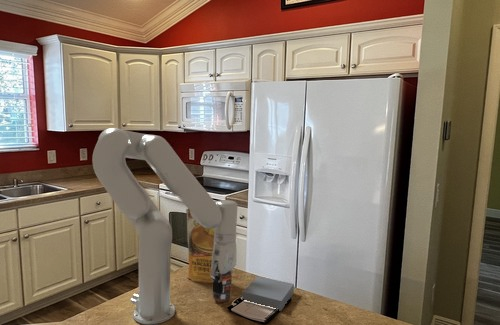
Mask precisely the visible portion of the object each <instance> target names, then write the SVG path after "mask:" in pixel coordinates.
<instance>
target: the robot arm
mask: <svg viewBox="0 0 500 325" xmlns="http://www.w3.org/2000/svg"><path fill="white" fill-rule="evenodd" d="M97 139H98V140H97V142H96V144H95V147H94V149H93V153H92V160H91V161H92V168H93V170H94V171H93V172H94V175H96V177H97V179H98V181H99V182H100V183H101V185H102V186H103V187H104V189H105V191H106V192H107V194H108V196H109V197H110V198H111V200H113V202H114V203H115V204H116V206H117V209H118V210H119V211H120V213H121V214H123V216H125V217H126V218H127V219H128V221H129V222H130V224H131V225H132V227H133V228H134V229H135V230H136V232H137V234H138V240H139V241H138V242H139V245H138V246H139V247H138V293H134V294H133V295H132V298H131V299H130V304H133V305H135V308H134V311H133V313H132V314H133V319H134V320H135V321H136V322H138V323H139V324H142V325H156V324H157V325H158V324H162V323H164V322H166V321H168V320H170V319H172V317H173V316H174V315H175V314H176V307H175V305H174V304H173V303H171V252H172V242H173V227H172V226H171V223H170V221H169V220H168V219H167V217H166V216H165V215H164V214H163V213H162V212H161V211H160V210H159V208H158V206H157V205H156V204H155V202H154V201H153V200H152V198H151V197H150V195H149V193H148V192H147V190H146V189H145V188H144V187H143V186H142V185H141V184H140V183H139V182H138V180H137V179H136V177H135V176H134V174H133V172H132V171H131V169H130V168H129V166H128V165H127V162H126V158H127V159H134V160H141V161H145V162H146V163H147V164H148V165H149V167H150V168H151V169H152V170H153V172H154V173H155V174H156V176H158V178H159V179H160V180H161V182H162V183H163V184H164V185H165V187H166V188H167V189H168V190H169V191H170V192H171V193H172V194H173V195H174V196H175V197H177V198H178V199H179V200H180V202H182V203H183V205H185V206H186V208H187V209H189V210H190V213H191V216H192V217H193V219H194V220H196V221H197V222H198V223H199V224H200V225H202V226H203V227H204V228H207V229H212V228H214V240H213V241H214V246H213V252H212V262H211V270H212V271H211V273H210V276H211V277H212V280H213V284H212V293H213V292H215V293H219V294H221V293H222V282H221V280H222V275H223V274H226V273H227V272H231V280H232V278H233V277H232V276H233V269H234V268H235V267H236V266H237V243H236V242H237V222H238V203H237V202H235V201H234V200H229V199H222V200H214V199H213V198H212V196H211V195H210V194H209V192H208V191H207V189H205V188H204V186H202V185H201V183H200V182H199V181H198V179H197V178H196V177H195V175H194V174H193V173H192V172H191V171H190V170H189V168H188V167H187V166H186V164H185V163H184V162H183V161H182V160H181V158H180V157H179V156H178V154H177V153H176V151H175V150H174V149H173V147H172V146H171V144H170V143H169V142H168V141H167V140H166V138H164V137H162V136H160V135H155V134H146V133H141V132H140V133H139V132H134V131H130V130H126V129H121V128H118V127H111V128H110V127H109V128H107V129H105V130H103V131H102V132H101V133H100V134H99V136H98V138H97ZM217 270H219V272H218V271H217ZM217 274H220V275H219V277H218V276H217Z"/></svg>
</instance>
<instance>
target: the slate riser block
mask: <svg viewBox="0 0 500 325" xmlns="http://www.w3.org/2000/svg"><path fill="white" fill-rule="evenodd" d="M294 291H295V283H291V282H287V281H284V280H283V281H282V280H278V279H274V278H268V277H264V276H260V275H259V276H257V277H256V278H255V279H253V281H252V282H251V283H249V285H248V286H246V287H245V289H243V290H242V297H241V298H242V299H244V300H247V301H250V302H254V303H257V304H261V305H265V306H270V307H273V308H278V309H279V312H282V310H283V309H284V308H285V306H286V305H287V303H288V302H289V301H288V300H290V299H291V298H292V296H293V295H294V293H295V292H294ZM242 299H241V300H242ZM287 301H288V302H287ZM285 304H286V305H285Z"/></svg>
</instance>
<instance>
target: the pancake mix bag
mask: <svg viewBox="0 0 500 325" xmlns="http://www.w3.org/2000/svg"><path fill="white" fill-rule="evenodd" d="M185 211H186V228H187V229H186V234H187V235H186V237H187V238H186V240H187V247H188V248H187V250H188V251H187V252H188V274H187V279H189V280H191V281H192V282H198V283H204V284H212V285H213V280H212V277H211V276H210V273H211V271H212V270H211V262H212V252H213V246H214V241H213V240H214V228H212V229H207V228H204V227H203V226H202V225H200V224H199V223H198V222H197V221H196V220H194V219H193V217H192V216H191V213H190V210H189V209H188V208H186V210H185ZM217 271H218V270H217Z"/></svg>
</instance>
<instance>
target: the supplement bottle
mask: <svg viewBox="0 0 500 325" xmlns="http://www.w3.org/2000/svg"><path fill="white" fill-rule="evenodd" d="M218 272H219V270H218ZM219 275H220V274H217V276H218V277H219ZM231 275H232V274H231V272H227V273H226V274H223V275H222V280H221V282H222V293H221V294H219V293H215V292H213V291H212V298H213V300H214V301H216V302H222V303H223V302H227V301H230V298H231V289H232V287H231V286H232V279H231Z"/></svg>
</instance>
